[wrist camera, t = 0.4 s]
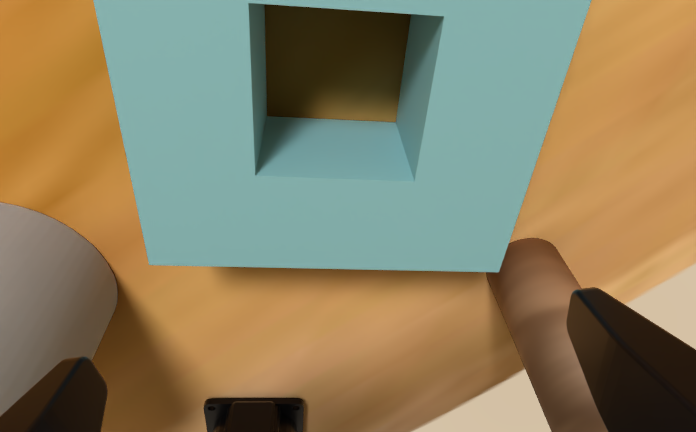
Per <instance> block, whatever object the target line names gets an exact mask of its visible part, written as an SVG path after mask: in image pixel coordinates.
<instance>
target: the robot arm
mask: <svg viewBox="0 0 696 432" xmlns="http://www.w3.org/2000/svg"><path fill="white" fill-rule="evenodd" d="M566 326H567V331H568V335H569V337H570V340H571V342H572V345H573V348H574V350H575V353H576V356H577V358H578V361H579V363H580V366H581V369H582V371H583V374H584V377H585V379H586V382H587V384H588V387H589V390H590V392H591V395H592V398H593V400H594V402H595V405H596V407H597V410H598V412H599V414H600V416H601V418H602V420H603V422H604V424H605V426H606V428H607V430H608V432H696V350H695V349H694V348H692V347H690V346H689V345H688V344H686V343H684V342H683V341H681V340H680V339H678V338H677V337H675V336H673V335H672V334H670V333H669V332H667V331H665V330H664V329H662V328H661V327H659V326H658V325H656V324H654V323H653V322H651V321H650V320H648V319H646V318H645V317H643V316H642V315H640V314H639V313H637V312H635V311H634V310H632V309H631V308H629V307H628V306H626V305H624V304H623V303H621V302H620V301H618V300H616V299H615V298H613V297H612V296H610V295H609V294H607V293H605V292H604V291H602V290H601V289H598V288H595V287H592V288H584V289H577V290H574V291H573V292H572V294H571V297H570V303H569V308H568V314H567V319H566ZM106 399H107V385H106V382H105V380H104V379H103V377H102V376H101V374H100V373H99V371H98V370H97V368H96V367H95V365H94V364H93V362H92V361H91V359H90V358H88V357H86V356H80V357H73V358H67V359H64V360H62V361H61V362H59V363H58V364H57V365H56V366H55V367H54V368H53V369H52V370H50V371H49V372H48V373H47V374H46V375H45V376H44V377H43V378H42V379H41V380H39V381H38V382H37V383H36V384H35V385H34V386H33V387H32V388H31V389H30V390H28V391H27V392H26V393H25V394H24V395H23V396H22V397H21V398H20V399H19V400H17V401H16V402H15V403H14V404H13V405H12V406H11V407H10V408H9V409H8V410H6V411H5V412H4V413H3V414H2V415H1V416H0V432H101V426H102V421H103V416H104V410H105V405H106ZM303 411H304V402H303V400H301V399H298V398H223V399H208V400H206V401H205V405H204V413H205V419H206V425H207V432H303Z"/></svg>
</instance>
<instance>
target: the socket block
mask: <svg viewBox="0 0 696 432" xmlns="http://www.w3.org/2000/svg"><path fill="white" fill-rule="evenodd" d="M590 3H591V0H94V5H95V10H96V15H97V19H98V24H99V29H100V34H101V38H102V43H103V48H104V53H105V57H106V62H107V67H108V72H109V76H110V81H111V86H112V91H113V95H114V100H115V105H116V110H117V114H118V119H119V124H120V128H121V133H122V138H123V143H124V147H125V152H126V157H127V162H128V166H129V171H130V176H131V181H132V185H133V190H134V195H135V200H136V204H137V209H138V214H139V219H140V223H141V228H142V233H143V238H144V242H145V247H146V252H147V257H148V261H149V265H172V266H219V267H267V268H315V269H363V270H411V271H459V272H499V270H500V267H501V265H502V262H503V259H504V256H505V253H506V250H507V247H508V244H509V241H510V238H511V235H512V232H513V229H514V226H515V223H516V220H517V217H518V215H519V212H520V209H521V206H522V203H523V200H524V197H525V194H526V191H527V188H528V185H529V182H530V179H531V176H532V173H533V170H534V167H535V165H536V162H537V159H538V156H539V153H540V150H541V147H542V144H543V141H544V138H545V135H546V132H547V129H548V126H549V123H550V120H551V117H552V115H553V112H554V109H555V106H556V103H557V100H558V97H559V94H560V91H561V88H562V85H563V82H564V79H565V76H566V73H567V70H568V67H569V65H570V62H571V59H572V56H573V53H574V50H575V47H576V44H577V41H578V38H579V35H580V32H581V29H582V26H583V23H584V20H585V17H586V15H587V12H588V9H589V6H590ZM265 4H271V5H285V6H300V7H315V8H330V9H344V10H359V11H374V12H388V13H403V14H411V19H410V26H409V33H408V40H407V47H406V54H405V61H404V68H403V75H402V82H401V89H400V96H399V103H398V110H397V117H396V122H379V121H358V120H337V119H316V118H295V117H274V116H267V92H266V46H265Z"/></svg>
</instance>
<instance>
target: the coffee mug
mask: <svg viewBox="0 0 696 432" xmlns="http://www.w3.org/2000/svg"><path fill="white" fill-rule="evenodd" d="M117 299H118V290H117V283H116V280H115V276H114V274H113V272H112V271H111V269H110V267H109V265H108V263H107V261H106V260H105V259H104V258H103V256H102V255H101V254H100V253H99V252H98V250H97V249H96V248H95V247H94V246H93V245H92V244H91V243H90V242H89V241H87V240H86V239H85V238H84V237H82V236H81V235H80V234H78V233H77V232H76V231H74V230H73V229H71V228H70V227H68V226H66V225H65V224H63V223H61V222H59V221H57V220H55V219H53V218H51V217H48V216H46V215H44V214H42V213H39V212H36V211H33V210H30V209H27V208H23V207H20V206H16V205H11V204H7V203H0V416H1V415H2V414H3V413H4V412H5V411H6V410H8V409H9V408H10V407H11V406H12V405H13V404H14V403H15V402H16V401H17V400H19V399H20V398H21V397H22V396H23V395H24V394H25V393H26V392H27V391H28V390H30V389H31V388H32V387H33V386H34V385H35V384H36V383H37V382H38V381H39V380H41V379H42V378H43V377H44V376H45V375H46V374H47V373H48V372H49V371H50V370H52V369H53V368H54V367H55V366H56V365H57V364H58V363H59V362H61V361H62V360H64V359H67V358H73V357H80V356H86V357H88V358H90V359H91V361H92V359H93V357H94V355H95V353H96V351H97V348H98V346H99V344H100V342H101V340H102V337H103V335H104V333H105V331H106V329H107V326H108V324H109V322H110V320H111V318H112V315H113V313H114V311H115V308H116V305H117Z"/></svg>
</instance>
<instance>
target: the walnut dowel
mask: <svg viewBox="0 0 696 432" xmlns="http://www.w3.org/2000/svg"><path fill="white" fill-rule="evenodd" d="M487 278H488V281H489V283H490V286H491V288H492V291H493V293H494V295H495V298H496V300H497V302H498V305H499V307H500V310H501V312H502V314H503V317H504V319H505V322H506V324H507V326H508V329H509V331H510V333H511V336H512V338H513V341H514V343H515V345H516V348H517V350H518V353H519V355H520V357H521V360H522V362H523V364H524V367H525V369H526V372H527V374H528V376H529V379H530V381H531V383H532V386H533V388H534V391H535V393H536V395H537V398H538V400H539V403H540V405H541V407H542V409H543V412H544V415H545V417H546V419H547V422H548V424H549V426H550V429H551V431H552V432H608V430H607V428H606V426H605V424H604V422H603V420H602V418H601V416H600V414H599V412H598V410H597V407H596V405H595V402H594V400H593V398H592V395H591V392H590V390H589V387H588V384H587V382H586V379H585V377H584V374H583V371H582V369H581V366H580V363H579V361H578V358H577V356H576V353H575V350H574V348H573V345H572V342H571V340H570V337H569V335H568V331H567V326H566V319H567V314H568V308H569V303H570V297H571V294H572V292H573V291H574V290H577V289H582V288H581V287H580V285H579V284H578V282H577V280H576V279H575V277H574V276H573V274H572V273H571V271H570V269H569V268H568V266H567V265H566V263H565V262H564V260H563V258H562V257H561V255H560V254H559V252H558V251H557V249H556V247H555V246H554V245H553V244H551V243H550V242H548V241H546V240H543V239H538V238H527V239H521V240H517V241H514V242H512V243H509V244H508V247H507V250H506V253H505V256H504V259H503V262H502V265H501V267H500V270H499V272H487Z"/></svg>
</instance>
